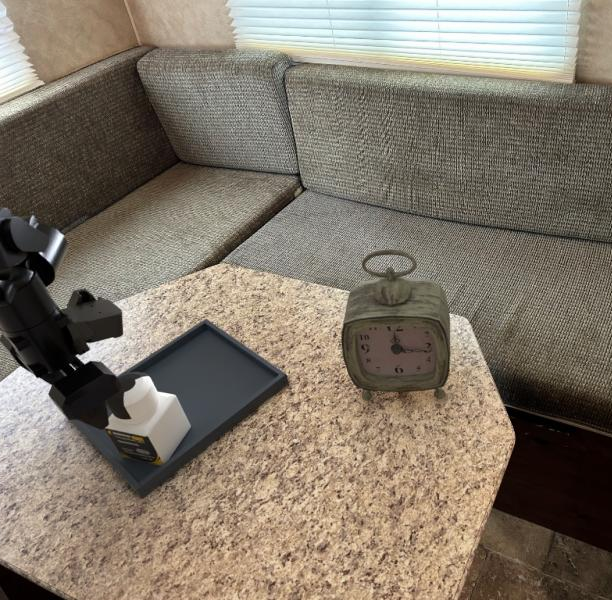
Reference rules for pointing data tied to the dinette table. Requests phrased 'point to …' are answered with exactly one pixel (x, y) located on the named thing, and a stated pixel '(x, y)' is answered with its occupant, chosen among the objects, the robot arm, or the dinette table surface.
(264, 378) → the tray
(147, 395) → the medicine bottle
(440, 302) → the tabletop clock
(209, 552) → the dinette table surface
